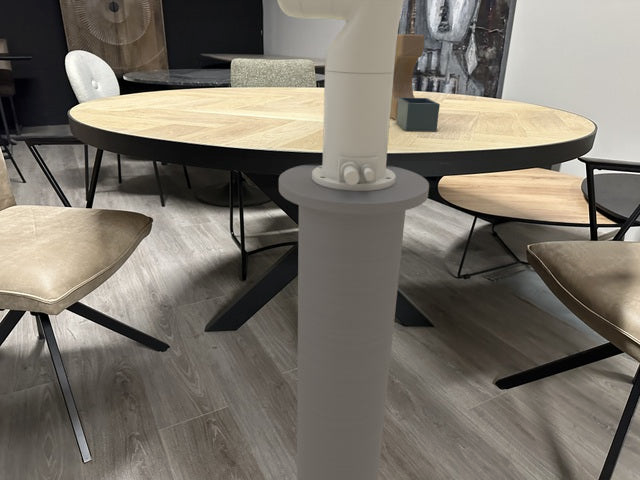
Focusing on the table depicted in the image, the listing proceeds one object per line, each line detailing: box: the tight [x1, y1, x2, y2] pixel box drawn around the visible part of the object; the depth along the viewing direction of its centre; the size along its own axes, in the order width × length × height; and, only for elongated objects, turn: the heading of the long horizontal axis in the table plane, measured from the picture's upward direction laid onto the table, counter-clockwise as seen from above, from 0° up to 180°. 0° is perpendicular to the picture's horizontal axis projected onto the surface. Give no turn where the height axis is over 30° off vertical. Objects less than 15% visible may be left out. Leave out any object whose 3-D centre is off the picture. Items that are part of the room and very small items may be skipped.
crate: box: [395, 97, 441, 132], centre depth 109 cm, size 11×7×6 cm, turn 2°
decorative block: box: [390, 33, 426, 121], centre depth 120 cm, size 11×6×20 cm, turn 8°
